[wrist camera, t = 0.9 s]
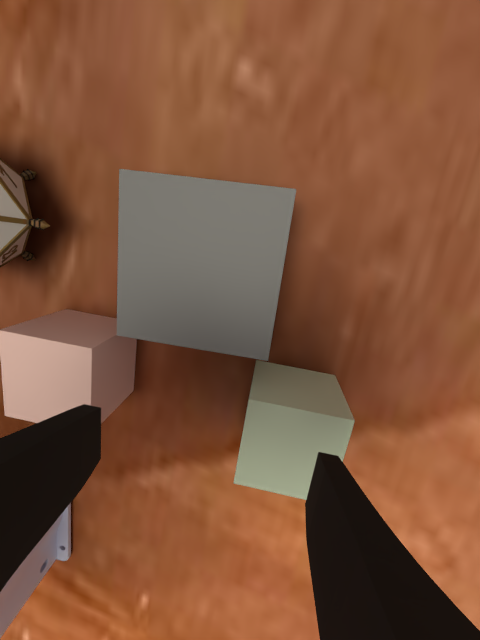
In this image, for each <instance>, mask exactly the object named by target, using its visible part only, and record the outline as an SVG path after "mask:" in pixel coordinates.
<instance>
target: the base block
mask: <svg viewBox="0 0 480 640" xmlns="http://www.w3.org/2000/svg"><path fill="white" fill-rule="evenodd" d="M295 194H296V189H291V188H282V187H273V186H264V185H256V184H247V183H238V182H230V181H221V180H212V179H203V178H195V177H186V176H177V175H169V174H160V173H151V172H142V171H134V170H125V169H119V223H118V282H117V336H123V337H129V338H135V339H141V340H146V341H152V342H158V343H164V344H170V345H176V346H182V347H188V348H194V349H200V350H206V351H212V352H217V353H223V354H229V355H235V356H241V357H247V358H253V359H259V360H265V361H268V358H269V352H270V346H271V340H272V334H273V328H274V322H275V315H276V309H277V303H278V297H279V291H280V285H281V279H282V273H283V267H284V261H285V255H286V249H287V243H288V237H289V231H290V225H291V219H292V213H293V206H294V200H295Z"/></svg>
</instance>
